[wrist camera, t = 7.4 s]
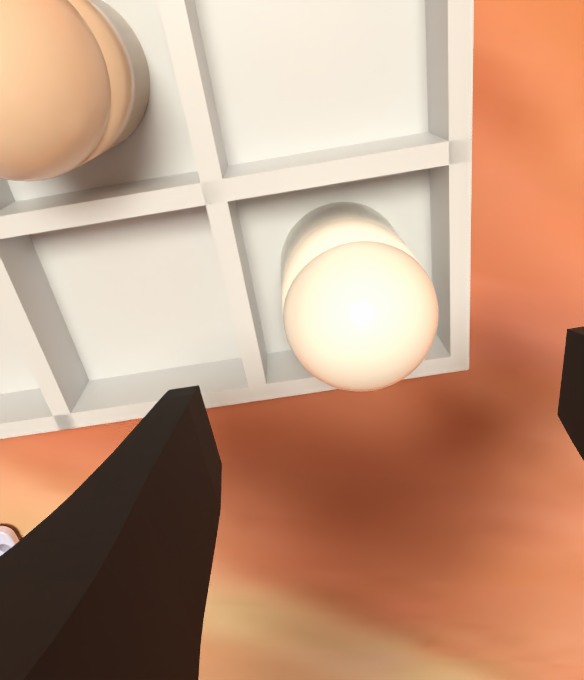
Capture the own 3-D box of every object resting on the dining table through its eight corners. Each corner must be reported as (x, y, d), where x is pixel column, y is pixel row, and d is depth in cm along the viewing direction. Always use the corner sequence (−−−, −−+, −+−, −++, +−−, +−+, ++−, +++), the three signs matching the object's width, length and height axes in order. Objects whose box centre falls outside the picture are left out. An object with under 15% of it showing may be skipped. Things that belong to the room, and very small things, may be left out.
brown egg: (166, 139, 15) (110, 182, 10) (34, 162, 15) (-91, 216, 10) (124, -26, 13) (26, -83, 8) (-27, 2, 13) (-221, -35, 8)
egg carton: (446, 333, 19) (469, 369, 17) (-83, 413, 20) (-127, 457, 18) (440, -165, 12) (476, -212, 10) (-350, -12, 13) (-472, -26, 11)
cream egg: (404, 307, 18) (459, 410, 13) (290, 325, 18) (298, 433, 13) (398, 192, 16) (460, 256, 11) (270, 212, 16) (270, 286, 11)
